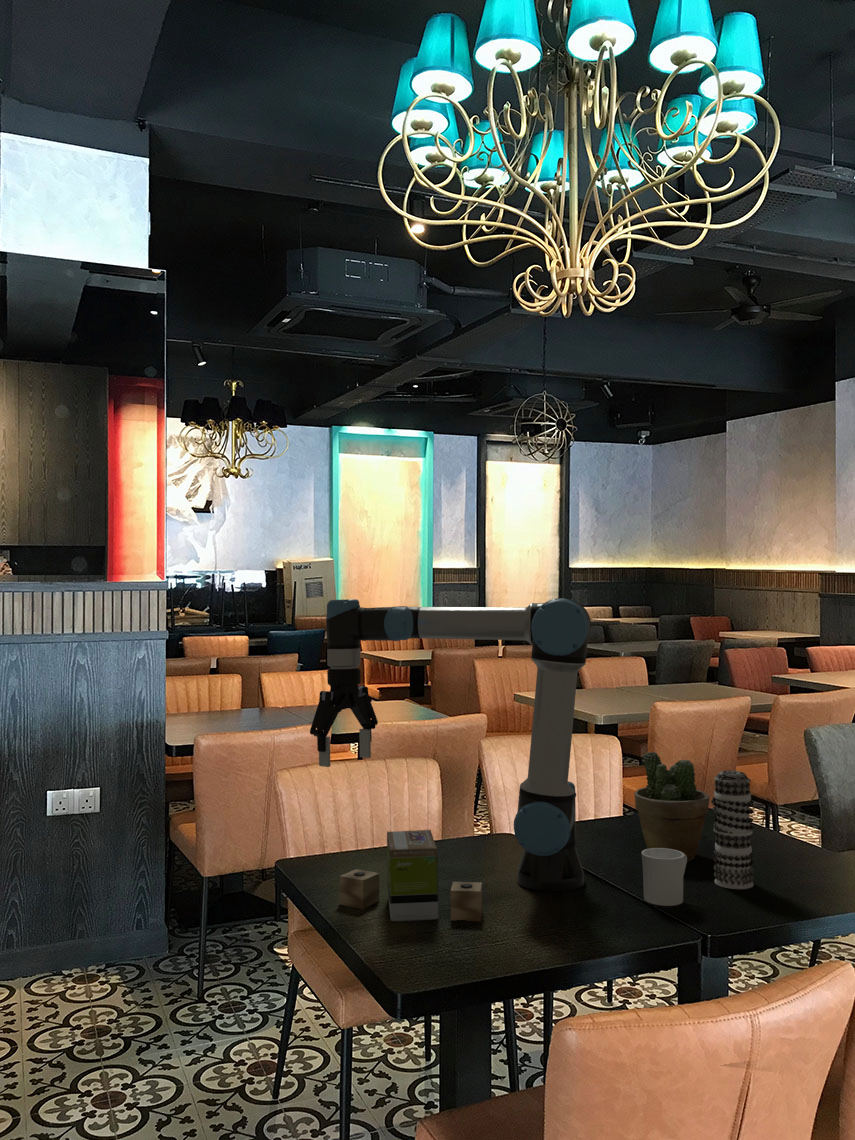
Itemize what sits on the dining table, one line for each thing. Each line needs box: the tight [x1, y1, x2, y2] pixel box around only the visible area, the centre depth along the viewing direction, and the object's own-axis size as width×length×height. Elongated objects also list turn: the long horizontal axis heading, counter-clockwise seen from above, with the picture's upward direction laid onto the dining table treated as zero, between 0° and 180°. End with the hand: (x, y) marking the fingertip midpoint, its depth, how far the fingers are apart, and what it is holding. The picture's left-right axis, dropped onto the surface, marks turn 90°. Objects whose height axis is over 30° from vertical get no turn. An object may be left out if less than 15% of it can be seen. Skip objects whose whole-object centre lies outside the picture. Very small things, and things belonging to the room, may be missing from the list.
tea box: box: [386, 829, 439, 922], centre depth 196 cm, size 15×10×15 cm, turn 5°
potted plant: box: [634, 751, 710, 862], centre depth 236 cm, size 18×19×25 cm
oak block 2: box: [450, 881, 483, 922], centre depth 192 cm, size 6×6×6 cm
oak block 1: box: [339, 868, 380, 910], centre depth 200 cm, size 6×6×6 cm
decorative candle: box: [710, 769, 755, 890], centre depth 213 cm, size 9×9×25 cm
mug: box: [641, 848, 688, 909], centre depth 200 cm, size 11×9×10 cm
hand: (345, 761), depth 212 cm, fingers open, 13 cm apart
